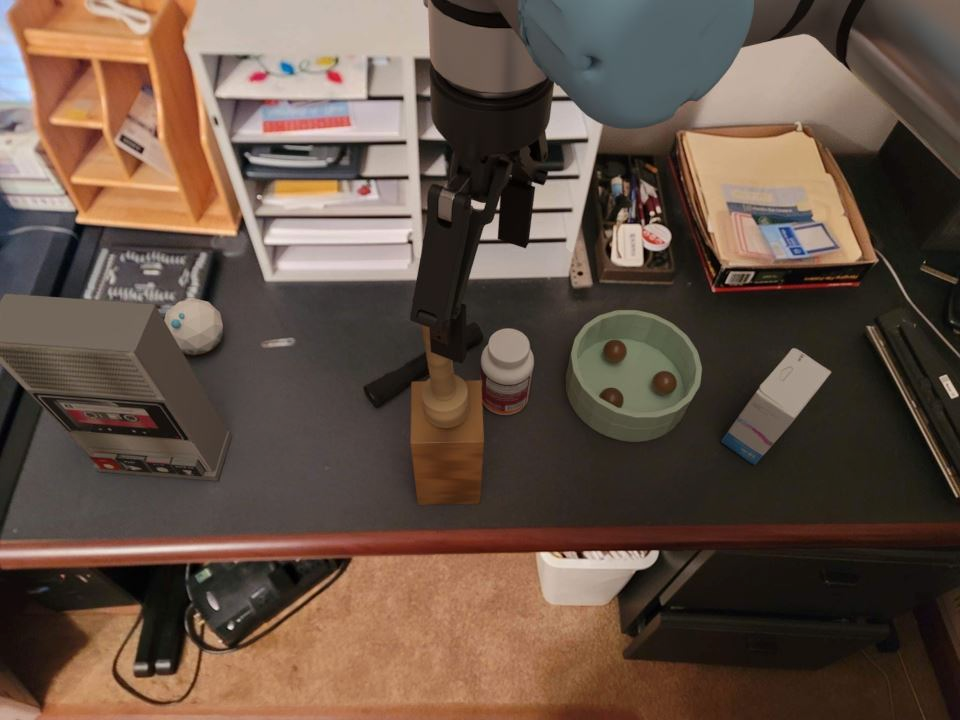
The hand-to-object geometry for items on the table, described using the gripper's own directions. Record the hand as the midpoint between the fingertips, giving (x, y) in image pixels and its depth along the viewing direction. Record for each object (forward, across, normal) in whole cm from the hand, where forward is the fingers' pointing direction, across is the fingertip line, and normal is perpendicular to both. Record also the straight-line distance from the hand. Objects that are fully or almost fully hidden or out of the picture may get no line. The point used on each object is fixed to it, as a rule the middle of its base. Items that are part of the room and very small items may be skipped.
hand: (482, 294), depth 59 cm
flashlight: (+29, -8, -10) cm, 32 cm away
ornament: (+29, +1, -38) cm, 48 cm away
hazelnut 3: (+26, -17, +18) cm, 36 cm away
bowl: (+29, -16, +14) cm, 36 cm away
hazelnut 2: (+26, -12, +12) cm, 32 cm away
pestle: (+14, +4, -2) cm, 14 cm away
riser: (+29, +4, -2) cm, 29 cm away
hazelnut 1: (+26, -19, +11) cm, 34 cm away
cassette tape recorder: (+29, +15, -32) cm, 46 cm away
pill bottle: (+29, -8, 0) cm, 30 cm away
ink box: (+29, -16, +30) cm, 45 cm away
